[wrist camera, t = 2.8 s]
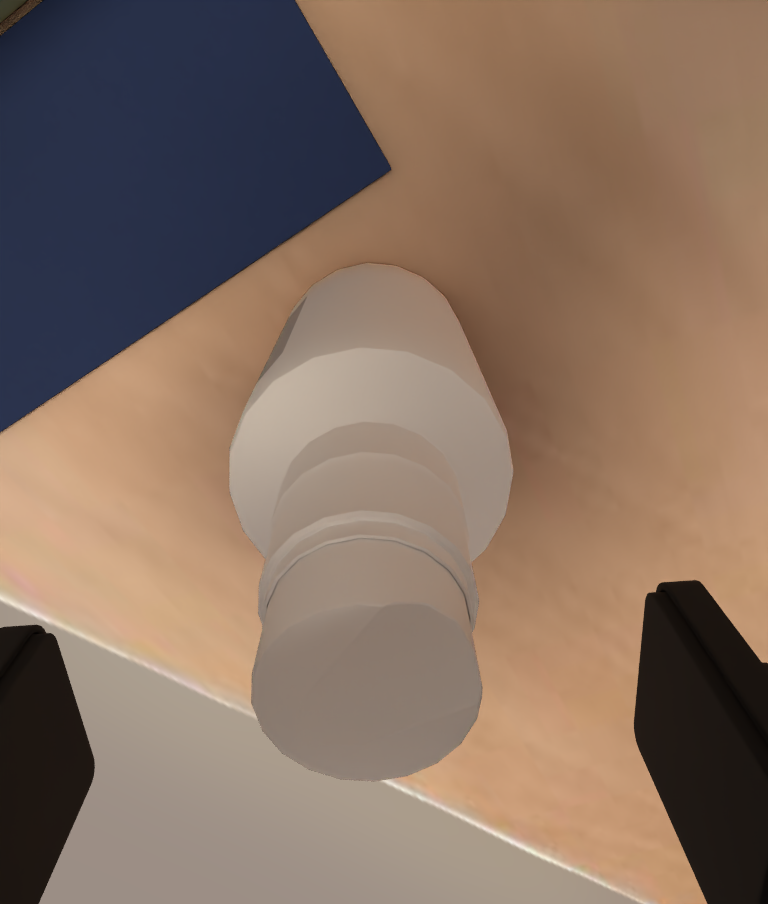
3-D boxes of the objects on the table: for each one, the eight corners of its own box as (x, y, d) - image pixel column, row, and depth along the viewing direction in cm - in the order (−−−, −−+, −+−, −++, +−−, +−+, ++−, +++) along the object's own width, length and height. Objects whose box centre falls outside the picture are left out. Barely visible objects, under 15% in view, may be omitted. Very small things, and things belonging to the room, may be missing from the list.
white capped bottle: (245, 341, 27) (30, 677, 10) (385, 220, 25) (400, 387, 8) (363, 467, 29) (343, 912, 12) (499, 364, 27) (688, 721, 11)
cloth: (391, 168, 24) (392, 169, 24) (-32, 453, 28) (-38, 457, 28) (215, -137, 21) (212, -142, 20) (-238, 238, 25) (-247, 240, 24)
